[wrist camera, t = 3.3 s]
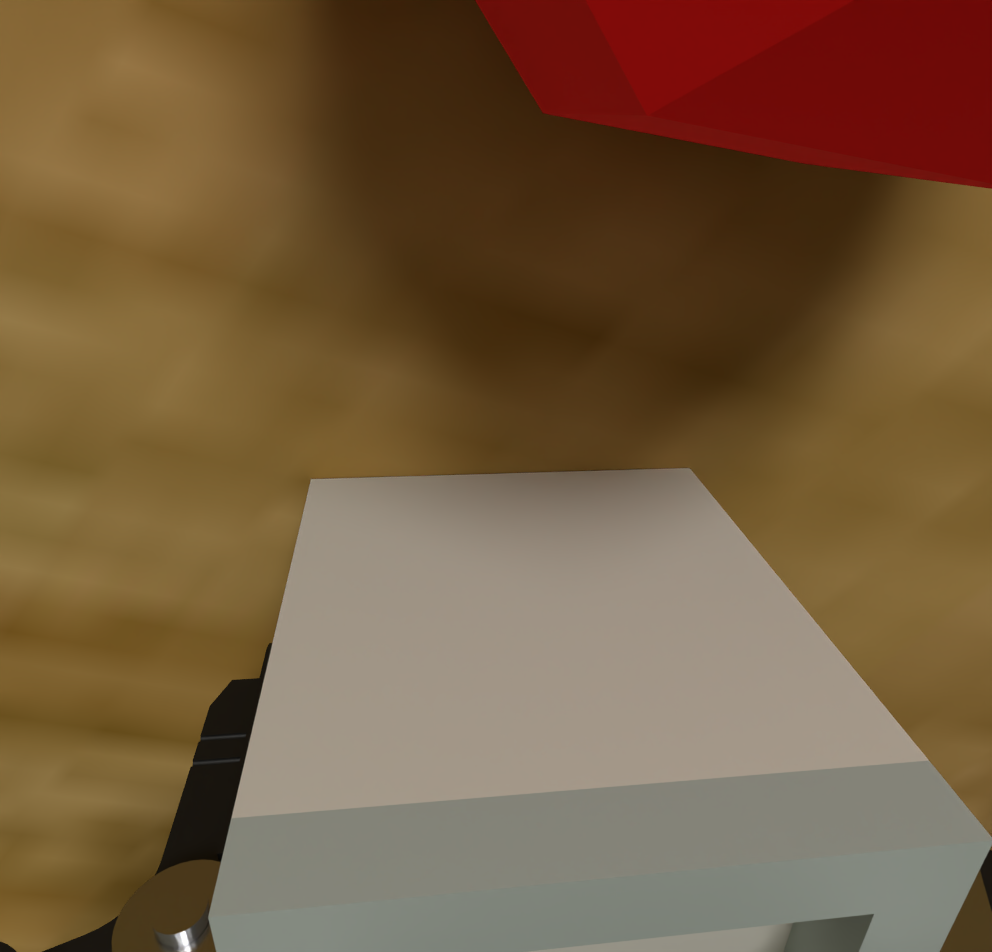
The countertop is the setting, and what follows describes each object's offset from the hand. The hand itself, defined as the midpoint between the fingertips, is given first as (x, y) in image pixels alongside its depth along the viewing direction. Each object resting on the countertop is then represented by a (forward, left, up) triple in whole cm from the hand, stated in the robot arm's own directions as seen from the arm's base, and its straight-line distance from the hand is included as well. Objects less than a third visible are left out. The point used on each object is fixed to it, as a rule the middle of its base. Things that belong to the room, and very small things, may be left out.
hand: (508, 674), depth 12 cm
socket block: (0, 0, -1) cm, 1 cm away
